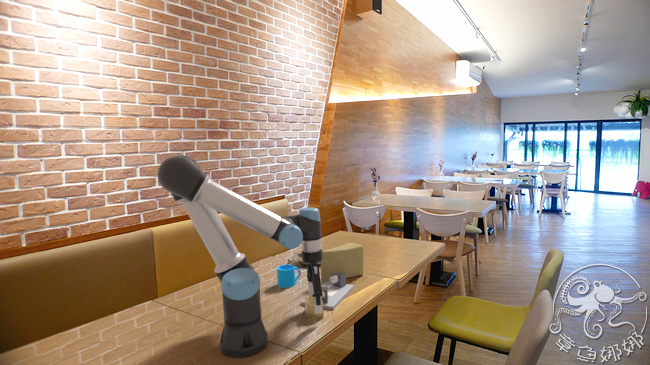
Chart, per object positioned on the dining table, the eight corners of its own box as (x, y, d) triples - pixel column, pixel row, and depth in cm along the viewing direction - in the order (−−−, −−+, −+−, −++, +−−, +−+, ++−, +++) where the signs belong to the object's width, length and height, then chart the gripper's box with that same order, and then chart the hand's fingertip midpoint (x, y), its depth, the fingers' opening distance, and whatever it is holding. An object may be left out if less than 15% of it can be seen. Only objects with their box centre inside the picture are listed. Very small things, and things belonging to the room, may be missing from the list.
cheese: (328, 286, 169) (327, 254, 167) (315, 281, 177) (314, 249, 175) (364, 275, 182) (363, 244, 181) (351, 270, 190) (350, 241, 188)
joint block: (323, 317, 138) (323, 302, 138) (307, 319, 137) (306, 304, 137) (320, 311, 144) (320, 295, 144) (305, 312, 143) (304, 297, 142)
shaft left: (327, 303, 148) (327, 290, 147) (315, 303, 148) (315, 290, 148) (328, 296, 155) (328, 284, 154) (317, 296, 155) (316, 284, 155)
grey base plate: (333, 309, 144) (333, 306, 144) (301, 304, 150) (301, 301, 150) (354, 287, 166) (354, 284, 166) (325, 284, 172) (325, 281, 172)
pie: (317, 252, 226) (317, 244, 225) (347, 263, 204) (347, 254, 204) (277, 262, 209) (276, 253, 208) (305, 275, 187) (304, 265, 187)
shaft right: (338, 282, 170) (337, 271, 169) (346, 285, 166) (345, 273, 166) (327, 287, 165) (327, 275, 164) (335, 289, 161) (335, 278, 161)
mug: (283, 289, 168) (282, 271, 167) (274, 284, 174) (273, 267, 173) (305, 282, 175) (305, 265, 174) (295, 278, 181) (295, 261, 181)
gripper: (328, 258, 127) (332, 318, 129) (316, 240, 151) (319, 291, 153) (306, 260, 125) (310, 321, 128) (297, 242, 150) (301, 293, 152)
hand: (315, 305), depth 140 cm, fingers open, 13 cm apart
